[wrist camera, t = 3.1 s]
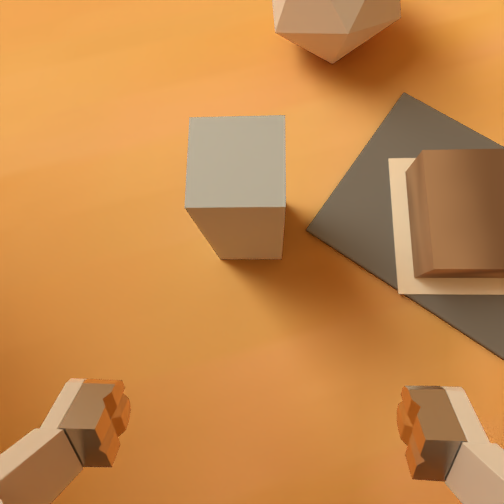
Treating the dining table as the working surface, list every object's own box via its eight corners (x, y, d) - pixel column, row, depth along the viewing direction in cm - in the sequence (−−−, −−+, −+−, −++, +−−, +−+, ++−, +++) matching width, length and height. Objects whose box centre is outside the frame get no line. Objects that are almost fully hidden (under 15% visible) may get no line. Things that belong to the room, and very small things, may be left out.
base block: (414, 277, 23) (433, 269, 20) (405, 172, 25) (422, 150, 22) (532, 278, 23) (570, 269, 20) (516, 170, 25) (548, 147, 22)
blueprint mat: (303, 233, 25) (304, 232, 24) (404, 92, 27) (406, 88, 26) (506, 367, 22) (511, 367, 22) (602, 200, 24) (607, 198, 24)
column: (220, 259, 25) (184, 207, 15) (222, 201, 26) (189, 117, 16) (281, 259, 25) (285, 206, 15) (281, 200, 25) (284, 115, 16)
